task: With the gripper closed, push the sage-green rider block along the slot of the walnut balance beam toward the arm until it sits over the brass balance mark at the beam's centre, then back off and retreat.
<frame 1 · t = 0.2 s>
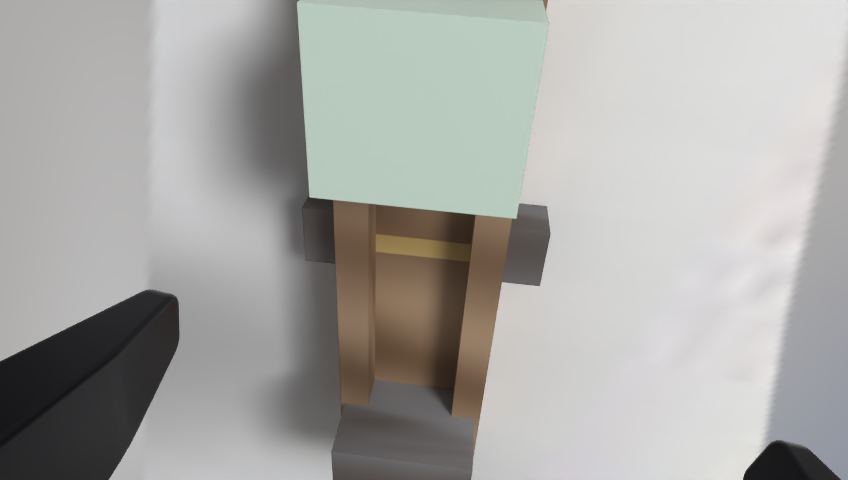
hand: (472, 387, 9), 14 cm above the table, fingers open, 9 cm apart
beam: (428, 220, 24), on the table
rider: (425, 89, 16), point 5 cm above the table, slide at 7.0 cm
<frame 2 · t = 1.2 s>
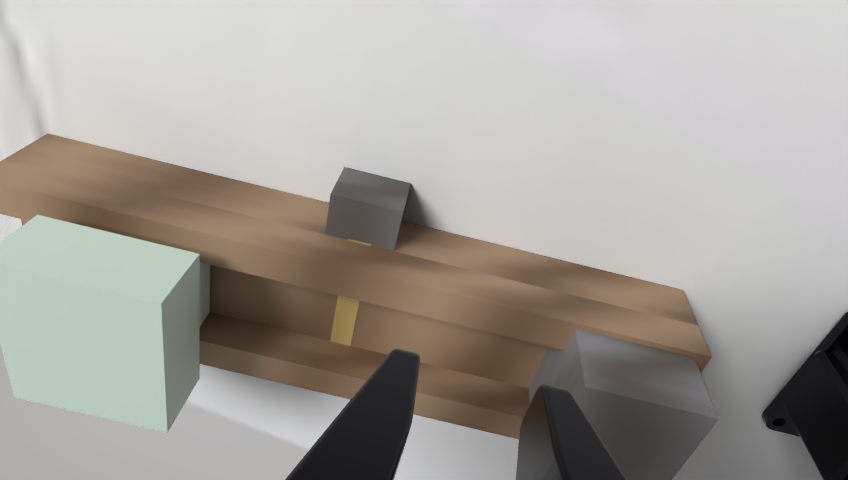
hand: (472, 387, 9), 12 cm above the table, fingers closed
beam: (358, 276, 23), on the table
rider: (121, 307, 19), point 5 cm above the table, slide at 7.0 cm
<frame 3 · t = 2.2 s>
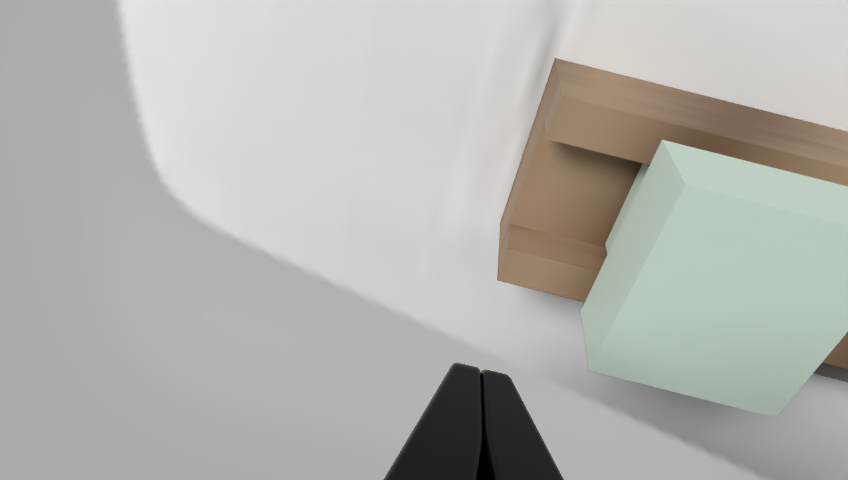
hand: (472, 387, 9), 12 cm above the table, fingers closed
rider: (709, 261, 15), point 4 cm above the table, slide at 7.0 cm
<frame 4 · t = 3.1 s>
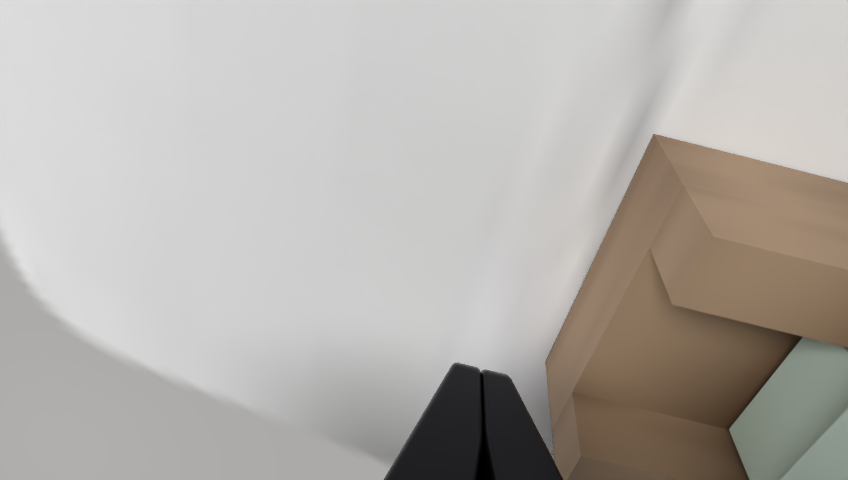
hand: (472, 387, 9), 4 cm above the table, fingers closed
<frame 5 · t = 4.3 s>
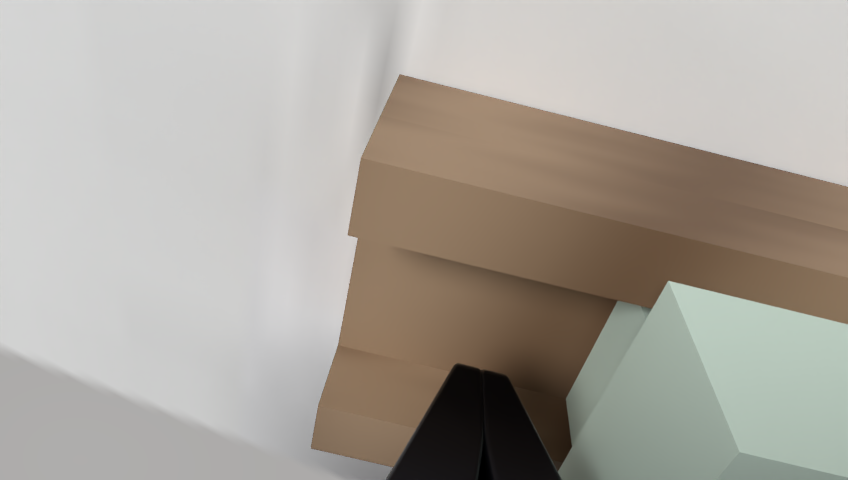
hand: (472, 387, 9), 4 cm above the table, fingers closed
rider: (751, 479, 8), point 4 cm above the table, slide at 5.6 cm, touching gripper
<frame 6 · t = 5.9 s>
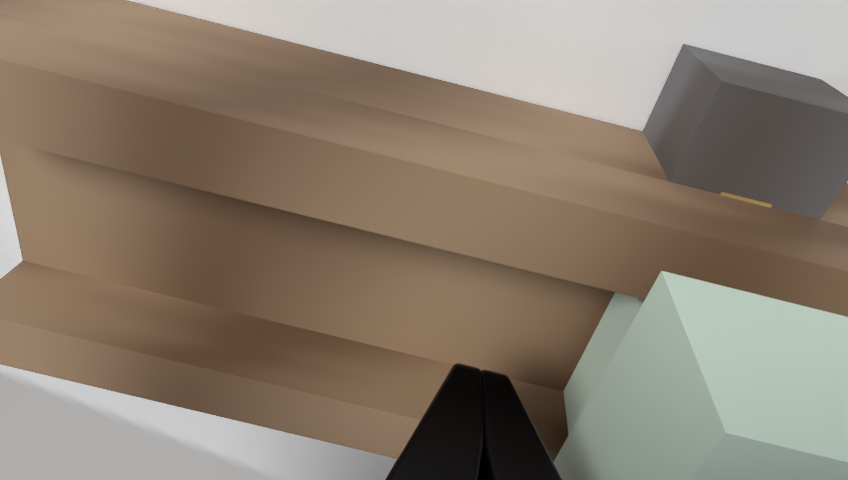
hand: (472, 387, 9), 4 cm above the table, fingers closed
beam: (637, 275, 12), on the table
rider: (745, 469, 8), point 5 cm above the table, slide at -0.7 cm, touching gripper
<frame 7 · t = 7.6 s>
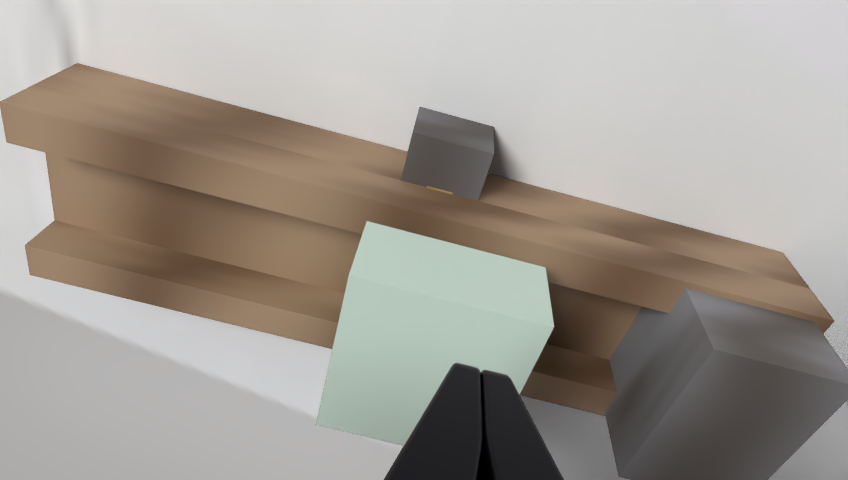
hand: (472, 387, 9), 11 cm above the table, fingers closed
beam: (421, 234, 21), on the table
rider: (430, 324, 17), point 5 cm above the table, slide at -0.7 cm
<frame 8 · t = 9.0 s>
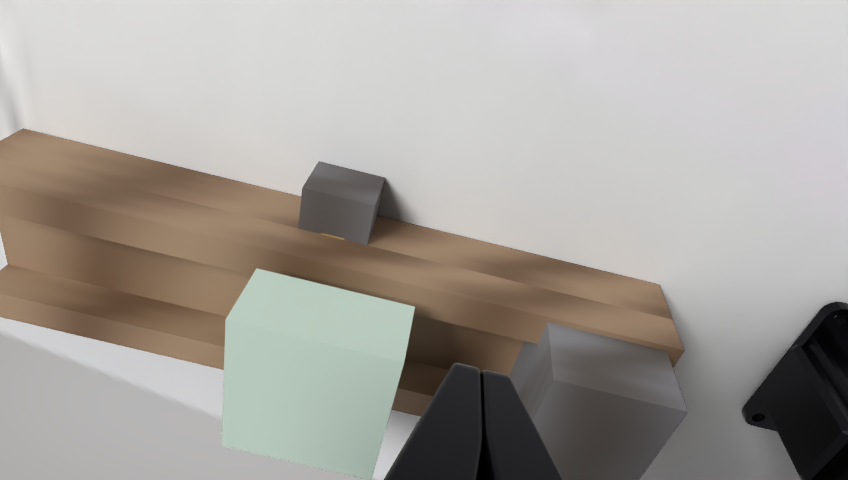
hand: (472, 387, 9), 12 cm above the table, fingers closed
beam: (335, 271, 23), on the table
rider: (323, 355, 19), point 5 cm above the table, slide at -0.7 cm
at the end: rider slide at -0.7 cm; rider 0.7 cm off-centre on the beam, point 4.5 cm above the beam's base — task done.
